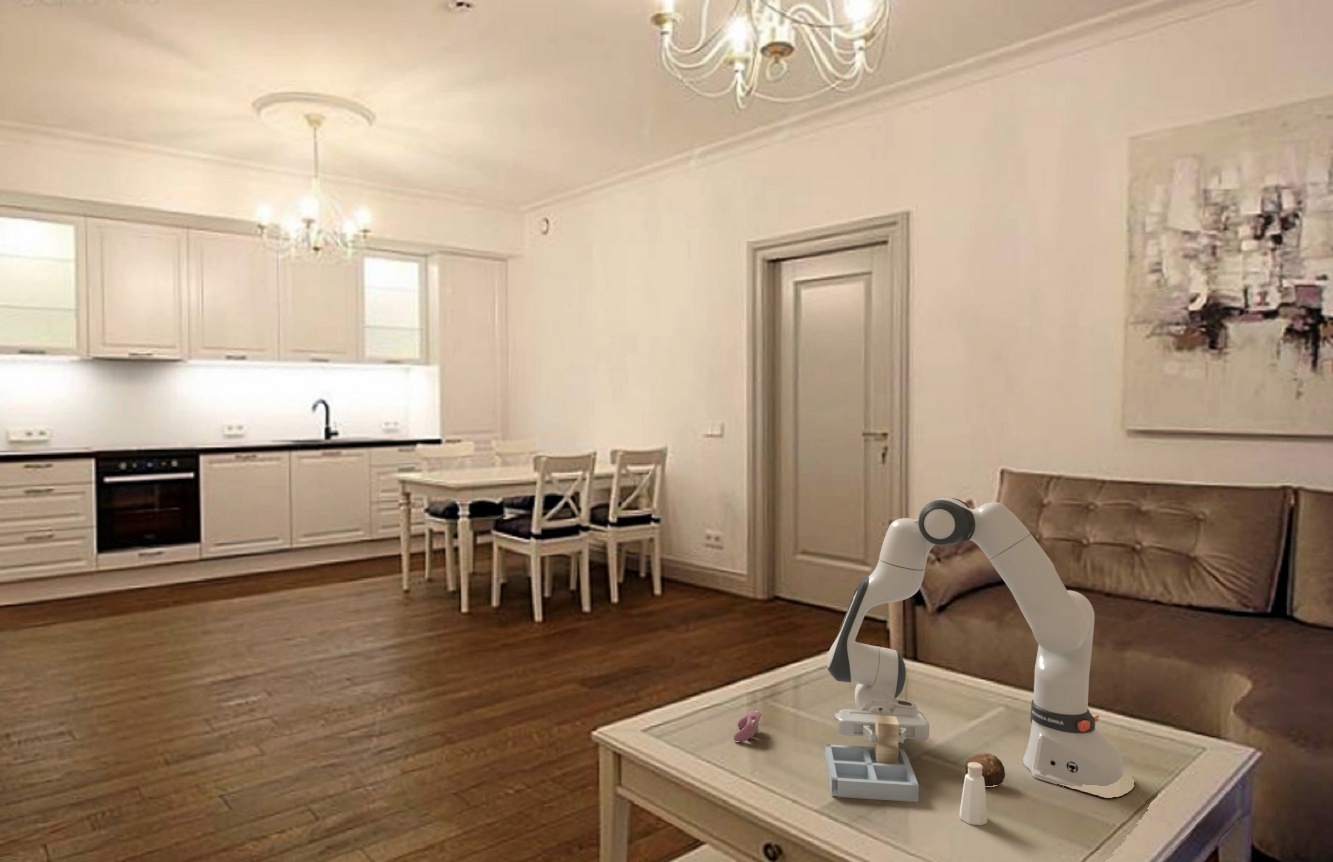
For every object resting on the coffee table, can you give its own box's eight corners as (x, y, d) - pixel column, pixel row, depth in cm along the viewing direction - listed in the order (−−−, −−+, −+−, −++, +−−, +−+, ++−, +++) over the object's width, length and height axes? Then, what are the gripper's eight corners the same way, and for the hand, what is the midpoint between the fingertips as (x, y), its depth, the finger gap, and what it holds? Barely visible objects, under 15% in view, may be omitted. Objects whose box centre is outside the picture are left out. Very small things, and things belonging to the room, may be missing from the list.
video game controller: (748, 751, 203) (762, 726, 202) (731, 741, 203) (745, 716, 202) (752, 734, 212) (766, 710, 211) (736, 724, 213) (749, 701, 212)
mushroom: (975, 754, 192) (980, 739, 188) (1008, 777, 187) (1014, 763, 183) (956, 779, 188) (960, 765, 184) (989, 803, 183) (995, 789, 179)
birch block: (894, 756, 191) (895, 716, 190) (897, 764, 187) (899, 724, 186) (874, 754, 192) (875, 715, 191) (877, 763, 187) (878, 723, 187)
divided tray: (903, 764, 193) (904, 748, 193) (918, 802, 176) (919, 785, 176) (824, 759, 195) (825, 744, 195) (831, 796, 178) (831, 780, 178)
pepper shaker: (978, 811, 173) (981, 757, 172) (993, 825, 167) (995, 770, 167) (953, 812, 172) (955, 759, 171) (967, 826, 167) (969, 771, 166)
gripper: (833, 699, 203) (839, 722, 189) (922, 704, 200) (934, 727, 187) (833, 725, 203) (838, 750, 189) (921, 730, 201) (933, 756, 187)
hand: (887, 739), depth 188 cm, fingers closed on birch block, 4 cm apart
